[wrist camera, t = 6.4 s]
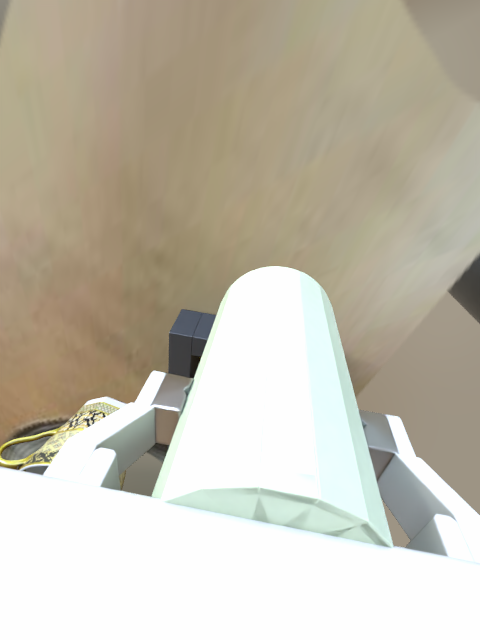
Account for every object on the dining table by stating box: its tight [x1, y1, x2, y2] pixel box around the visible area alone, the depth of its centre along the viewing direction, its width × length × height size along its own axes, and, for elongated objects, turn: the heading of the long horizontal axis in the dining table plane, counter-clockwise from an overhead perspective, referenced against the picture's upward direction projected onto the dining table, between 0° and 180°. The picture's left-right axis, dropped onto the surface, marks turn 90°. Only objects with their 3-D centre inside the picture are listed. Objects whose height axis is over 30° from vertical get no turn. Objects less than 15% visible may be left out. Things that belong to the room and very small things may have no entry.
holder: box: [167, 309, 216, 452], centre depth 33 cm, size 11×20×4 cm, turn 172°
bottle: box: [151, 266, 393, 548], centre depth 10 cm, size 6×6×15 cm
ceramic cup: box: [0, 397, 127, 491], centre depth 35 cm, size 13×10×10 cm
